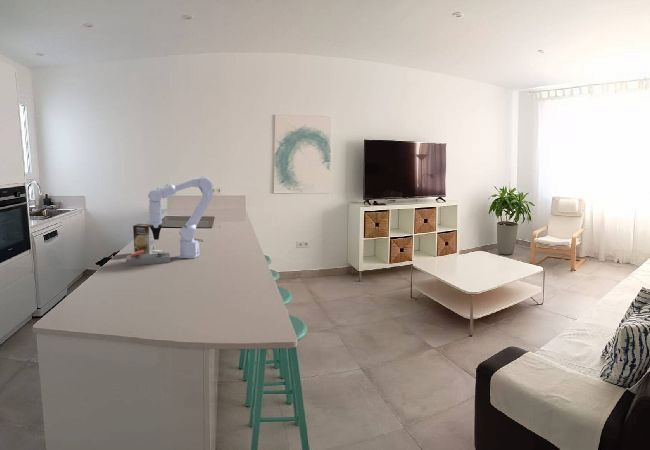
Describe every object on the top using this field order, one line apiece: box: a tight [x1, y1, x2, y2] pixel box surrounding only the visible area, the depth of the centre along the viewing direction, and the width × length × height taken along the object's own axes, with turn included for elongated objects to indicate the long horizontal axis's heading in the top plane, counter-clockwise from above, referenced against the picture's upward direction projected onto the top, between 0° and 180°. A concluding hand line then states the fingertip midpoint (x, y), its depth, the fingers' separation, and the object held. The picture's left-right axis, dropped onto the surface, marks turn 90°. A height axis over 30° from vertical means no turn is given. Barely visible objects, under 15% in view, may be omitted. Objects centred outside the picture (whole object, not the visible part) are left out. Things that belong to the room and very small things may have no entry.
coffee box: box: [132, 223, 156, 255], centre depth 219 cm, size 9×6×16 cm
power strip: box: [125, 252, 171, 266], centre depth 203 cm, size 20×9×3 cm, turn 114°
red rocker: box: [130, 250, 144, 257], centre depth 202 cm, size 6×3×1 cm, turn 112°
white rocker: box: [152, 249, 166, 254], centre depth 206 cm, size 6×3×1 cm, turn 114°
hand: (156, 239), depth 207 cm, fingers closed
